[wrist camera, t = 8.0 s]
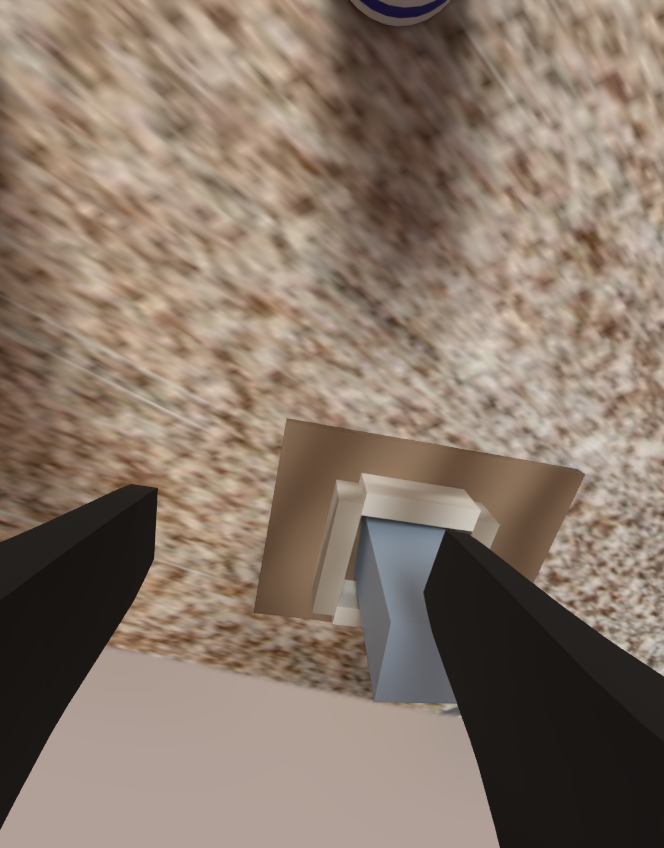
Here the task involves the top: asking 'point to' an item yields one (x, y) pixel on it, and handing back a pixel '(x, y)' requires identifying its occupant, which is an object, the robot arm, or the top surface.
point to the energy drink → (400, 10)
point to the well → (394, 510)
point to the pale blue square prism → (399, 611)
